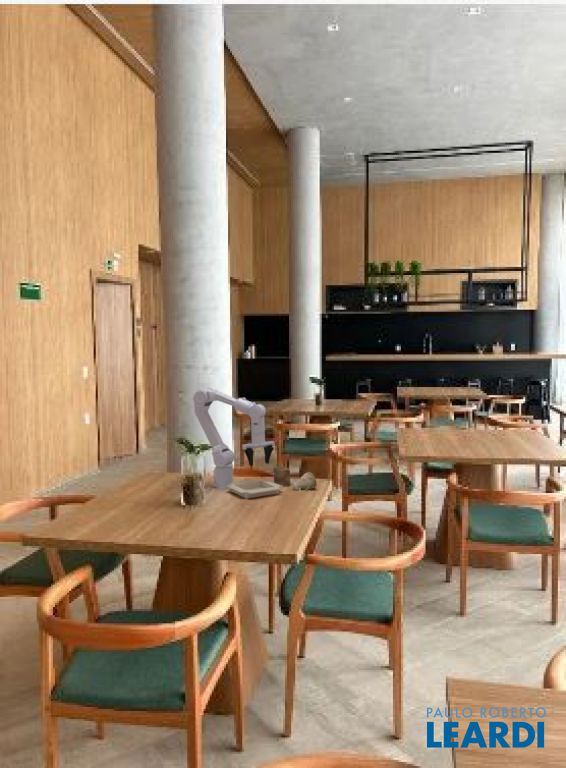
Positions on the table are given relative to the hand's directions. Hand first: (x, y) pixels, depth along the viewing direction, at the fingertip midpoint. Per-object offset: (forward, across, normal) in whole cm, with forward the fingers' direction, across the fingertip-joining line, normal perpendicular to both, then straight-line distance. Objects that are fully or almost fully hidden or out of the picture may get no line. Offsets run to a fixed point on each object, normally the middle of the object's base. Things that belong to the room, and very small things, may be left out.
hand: (259, 464), depth 258 cm
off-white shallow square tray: (+10, -6, -6) cm, 13 cm away
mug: (+11, +14, -13) cm, 22 cm away
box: (+10, +10, -1) cm, 14 cm away
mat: (+10, +10, 0) cm, 15 cm away
